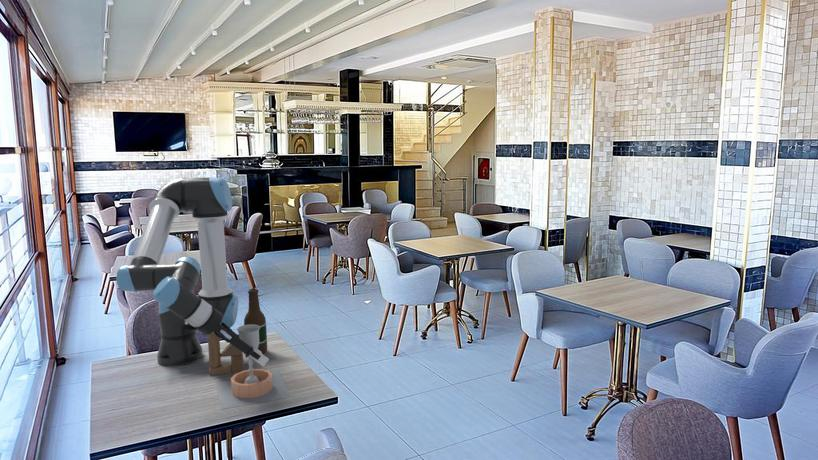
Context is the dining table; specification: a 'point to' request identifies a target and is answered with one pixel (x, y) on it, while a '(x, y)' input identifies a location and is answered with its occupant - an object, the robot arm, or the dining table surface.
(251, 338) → the chalice
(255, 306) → the beer bottle
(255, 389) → the ceramic collar
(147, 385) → the dining table surface
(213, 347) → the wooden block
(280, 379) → the slate board
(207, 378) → the dining table surface
